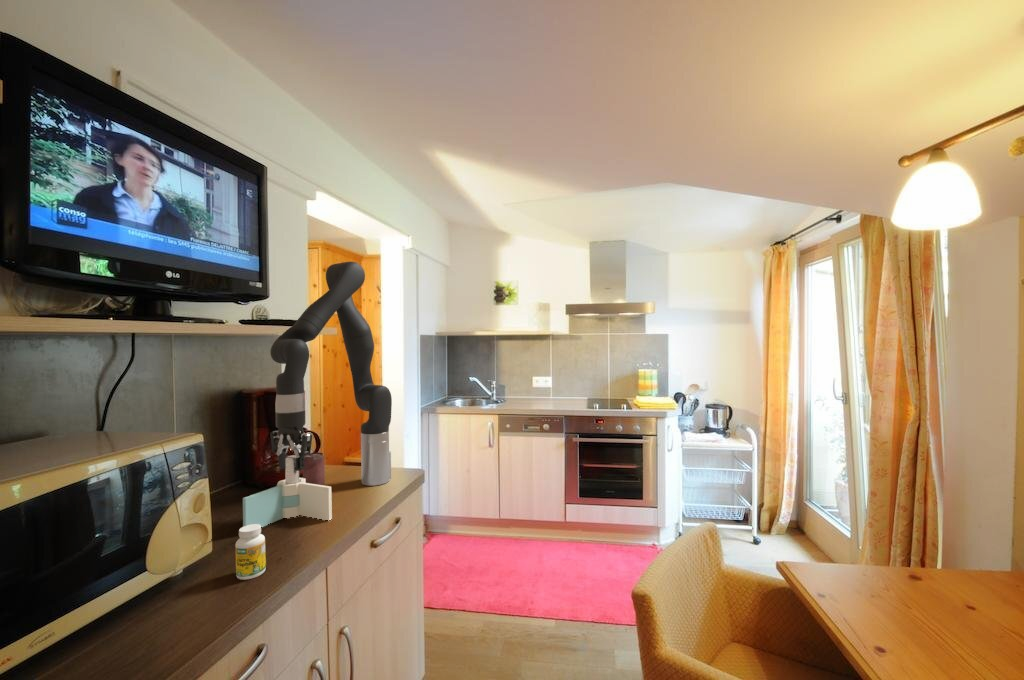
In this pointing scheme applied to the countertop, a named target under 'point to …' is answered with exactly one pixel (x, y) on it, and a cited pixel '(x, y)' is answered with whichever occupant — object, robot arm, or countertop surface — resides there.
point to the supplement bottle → (250, 552)
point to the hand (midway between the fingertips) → (291, 468)
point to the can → (314, 469)
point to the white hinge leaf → (308, 500)
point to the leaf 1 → (267, 506)
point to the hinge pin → (291, 470)
